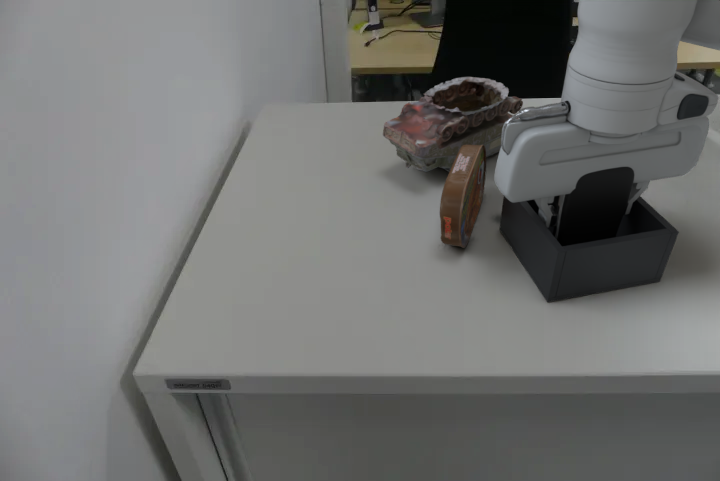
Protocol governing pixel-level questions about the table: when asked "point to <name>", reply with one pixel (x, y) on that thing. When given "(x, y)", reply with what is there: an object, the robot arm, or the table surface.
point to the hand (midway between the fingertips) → (583, 218)
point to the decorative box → (451, 122)
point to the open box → (589, 251)
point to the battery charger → (593, 206)
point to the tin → (463, 195)
